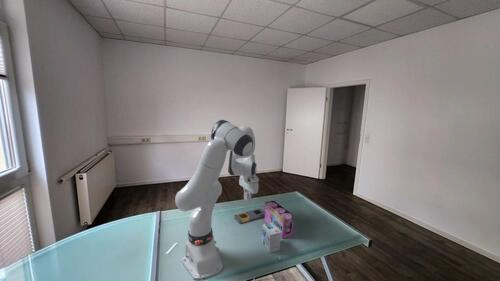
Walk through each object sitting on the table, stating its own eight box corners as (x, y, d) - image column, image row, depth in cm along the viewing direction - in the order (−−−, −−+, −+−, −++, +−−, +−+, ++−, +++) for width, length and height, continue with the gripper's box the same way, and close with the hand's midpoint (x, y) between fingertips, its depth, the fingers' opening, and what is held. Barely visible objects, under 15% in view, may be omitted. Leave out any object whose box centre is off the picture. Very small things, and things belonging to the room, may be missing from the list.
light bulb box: (261, 241, 114) (261, 223, 113) (271, 238, 116) (272, 222, 115) (269, 253, 104) (270, 234, 103) (280, 250, 106) (281, 232, 105)
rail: (266, 216, 141) (266, 212, 141) (239, 224, 130) (239, 220, 130) (260, 212, 148) (260, 208, 148) (234, 219, 137) (234, 214, 137)
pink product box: (294, 237, 119) (295, 216, 117) (283, 240, 115) (284, 218, 114) (273, 218, 140) (274, 200, 138) (264, 220, 137) (264, 202, 135)
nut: (251, 200, 137) (251, 192, 136) (246, 201, 135) (247, 193, 134) (248, 197, 140) (248, 190, 140) (243, 199, 138) (244, 191, 138)
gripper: (237, 172, 142) (236, 190, 144) (252, 181, 125) (251, 201, 127) (244, 171, 146) (244, 189, 148) (260, 179, 129) (259, 199, 131)
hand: (247, 195), depth 137 cm, fingers closed on nut, 4 cm apart
